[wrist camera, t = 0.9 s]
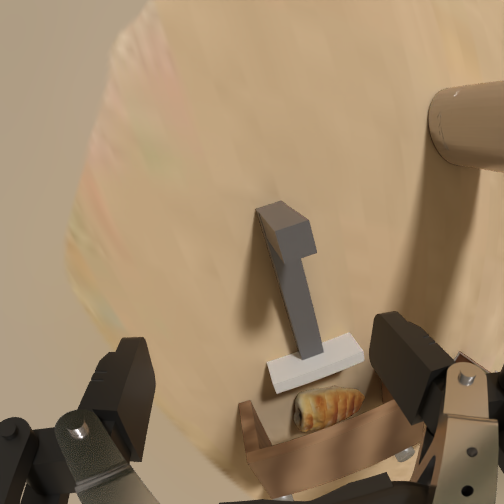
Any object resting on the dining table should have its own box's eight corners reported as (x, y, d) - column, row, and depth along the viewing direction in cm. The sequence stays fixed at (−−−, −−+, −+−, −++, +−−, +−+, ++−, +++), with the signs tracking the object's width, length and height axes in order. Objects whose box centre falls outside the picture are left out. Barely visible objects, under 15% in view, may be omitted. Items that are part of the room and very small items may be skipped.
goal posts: (399, 423, 42) (415, 447, 36) (399, 432, 43) (414, 456, 37) (265, 473, 42) (272, 502, 36) (270, 480, 42) (276, 508, 37)
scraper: (318, 188, 29) (359, 203, 21) (350, 341, 35) (383, 387, 27) (216, 221, 29) (219, 249, 21) (270, 371, 35) (286, 426, 27)
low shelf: (389, 347, 36) (427, 393, 27) (391, 397, 40) (421, 441, 31) (238, 403, 36) (247, 463, 27) (261, 446, 39) (272, 499, 30)
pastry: (362, 374, 37) (374, 392, 34) (356, 409, 40) (365, 427, 36) (292, 389, 36) (300, 410, 33) (292, 423, 39) (298, 443, 35)
